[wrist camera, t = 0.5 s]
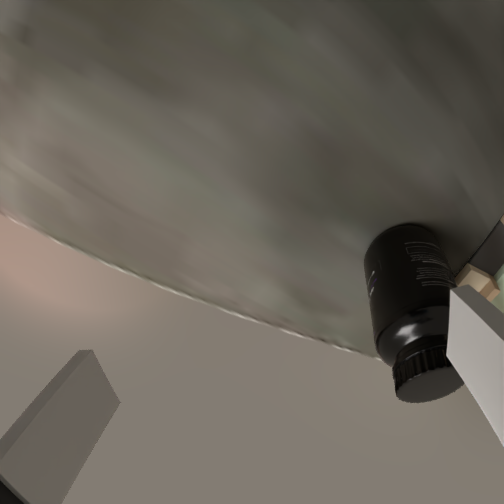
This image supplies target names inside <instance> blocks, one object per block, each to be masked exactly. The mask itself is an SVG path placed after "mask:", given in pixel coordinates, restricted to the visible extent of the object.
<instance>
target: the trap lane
mask: <svg viewBox="0 0 504 504" xmlns="http://www.w3.org/2000/svg"><path fill="white" fill-rule="evenodd" d="M455 280H456V283H457V285H458V287H460V286H463V285H467V284H469V285H470V286H471V287H473V288H474V289H475V290H476V291H477V292H479V293H480V294H481V295H482V296H483V297H485V298H486V299H487V300H488V301H489V302H491V303H492V304H493V305H494V306H495V307H496V308H498V309H499V310H500V311H501V312H502V313H503V314H504V215H503V216H502V218H501V219H500V220H499V222H498V223H497V225H496V226H495V227H494V229H493V230H492V232H491V233H490V234H489V236H488V237H487V238H486V240H485V241H484V242H483V244H482V245H481V246H480V248H479V249H478V250H477V251H476V253H475V254H474V255H473V256H472V258H471V259H470V260H469V261H468V263H467V264H466V265H465V266H464V268H463V269H462V270H461V271H460V272H459V274H458V275H457V276H456V277H455Z"/></svg>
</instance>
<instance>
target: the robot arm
mask: <svg viewBox="0 0 504 504" xmlns="http://www.w3.org/2000/svg"><path fill="white" fill-rule="evenodd" d="M446 356H447V357H448V359H449V360H450V362H451V363H452V365H453V366H454V368H455V369H456V371H457V372H458V374H459V375H460V377H461V378H462V380H463V381H464V383H465V384H466V386H467V387H468V389H469V390H470V392H471V393H472V395H473V396H474V398H475V400H476V401H477V403H478V404H479V406H480V408H481V409H482V411H483V412H484V414H485V416H486V417H487V419H488V421H489V422H490V424H491V426H492V427H493V429H494V431H495V433H496V434H497V436H498V438H499V440H500V441H501V443H502V445H503V447H504V314H503V313H502V312H501V311H500V310H499V309H498V308H496V307H495V306H494V305H493V304H492V303H491V302H489V301H488V300H487V299H486V298H485V297H483V296H482V295H481V294H480V293H479V292H477V291H476V290H475V289H474V288H473V287H471V286H470V285H469V284H467V285H463V286H460V287H457V288H453V289H450V313H449V330H448V343H447V353H446ZM119 404H120V401H119V399H118V397H117V396H116V394H115V392H114V390H113V389H112V387H111V385H110V383H109V381H108V379H107V377H106V375H105V374H104V372H103V370H102V368H101V366H100V364H99V362H98V360H97V358H96V356H95V354H94V352H93V350H79V351H78V352H77V353H76V354H75V355H74V356H73V357H72V358H71V360H70V361H69V362H68V363H67V364H66V365H65V366H64V367H63V368H62V369H61V370H60V371H59V373H58V374H57V375H56V376H55V377H54V378H53V379H52V380H51V382H49V384H48V385H47V386H46V387H45V388H44V389H43V390H42V392H41V393H40V394H39V395H38V396H37V397H36V398H35V399H34V401H33V402H32V403H31V404H30V405H29V406H28V408H27V409H26V410H25V411H24V412H23V413H22V415H21V416H20V417H19V418H18V419H17V420H16V422H15V423H14V424H13V425H12V426H11V427H10V429H9V430H8V431H7V432H6V433H5V435H4V436H3V437H2V438H1V439H0V504H61V503H62V502H63V500H64V498H65V496H66V495H67V493H68V491H69V489H70V488H71V486H72V484H73V482H74V481H75V479H76V477H77V475H78V474H79V472H80V470H81V468H82V467H83V465H84V463H85V461H86V460H87V458H88V456H89V455H90V453H91V451H92V450H93V448H94V446H95V444H96V443H97V441H98V439H99V438H100V436H101V434H102V433H103V431H104V429H105V427H106V426H107V424H108V423H109V421H110V419H111V418H112V416H113V414H114V413H115V411H116V409H117V408H118V406H119Z"/></svg>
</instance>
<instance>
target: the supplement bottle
mask: <svg viewBox="0 0 504 504" xmlns="http://www.w3.org/2000/svg"><path fill="white" fill-rule="evenodd" d="M364 270H365V278H366V284H367V290H368V297H369V304H370V311H371V318H372V326H373V334H374V342H375V348H376V351H377V354H378V355H379V357H380V358H381V359H382V361H383V362H384V363H386V364H387V365H389V366H390V367H392V374H393V379H394V383H395V392H396V396H397V397H398V398H399V399H400V400H402V401H405V402H410V403H421V402H427V401H432V400H437V399H439V398H442V397H445V396H447V395H449V394H450V393H453V392H455V391H456V390H457V389H459V388H460V387H461V386H462V385H464V381H463V380H462V378H461V377H460V375H459V374H458V372H457V371H456V369H455V368H454V366H453V365H452V363H451V362H450V360H449V359H448V357H447V356H446V353H447V343H448V330H449V313H450V289H453V288H457V287H458V285H457V283H456V280H455V278H454V275H453V273H452V270H451V268H450V266H449V263H448V261H447V259H446V257H445V254H444V252H443V250H442V248H441V246H440V244H439V242H438V240H437V239H436V237H435V236H434V235H433V234H432V233H431V232H429V231H428V230H426V229H424V228H421V227H418V226H411V225H406V226H399V227H395V228H392V229H390V230H388V231H386V232H384V233H383V234H381V235H380V236H378V237H377V238H376V239H375V240H374V241H373V242H372V244H371V245H370V247H369V248H368V250H367V252H366V255H365V259H364Z"/></svg>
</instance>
